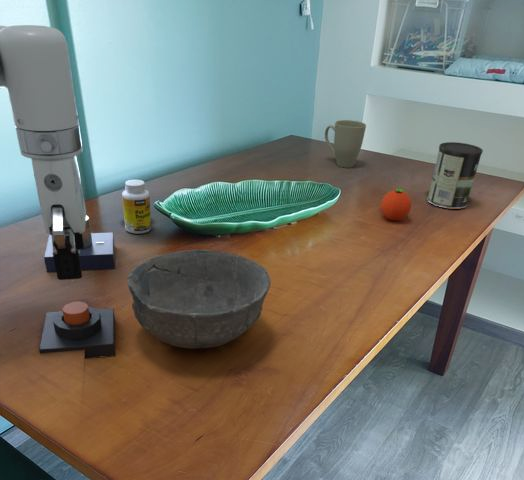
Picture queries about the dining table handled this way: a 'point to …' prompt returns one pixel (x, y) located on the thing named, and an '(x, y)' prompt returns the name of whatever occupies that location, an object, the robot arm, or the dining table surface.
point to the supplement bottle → (136, 207)
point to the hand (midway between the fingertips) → (71, 262)
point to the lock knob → (87, 234)
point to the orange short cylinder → (76, 313)
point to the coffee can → (454, 174)
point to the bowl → (198, 296)
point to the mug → (346, 141)
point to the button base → (80, 334)
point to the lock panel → (89, 253)
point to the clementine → (396, 204)
